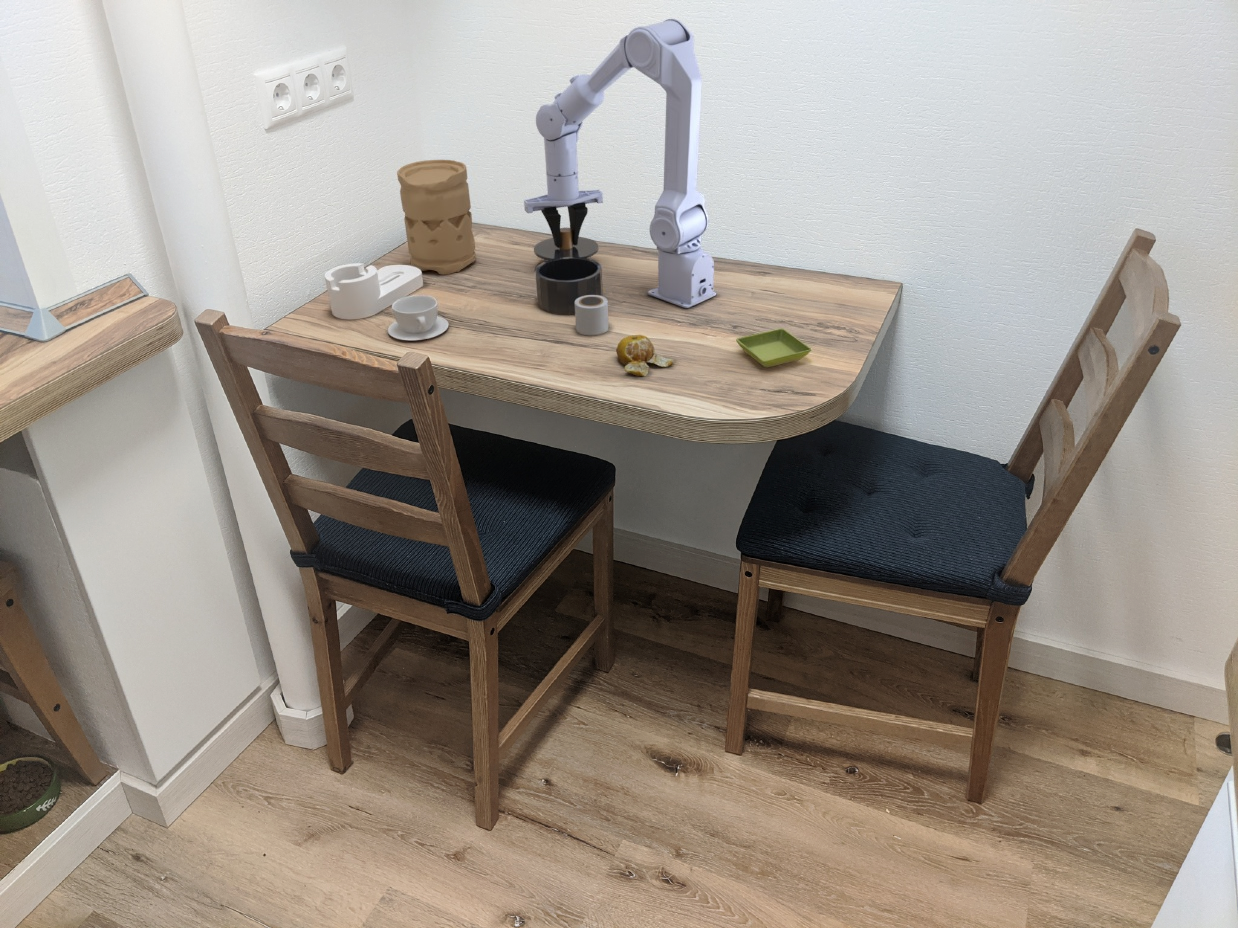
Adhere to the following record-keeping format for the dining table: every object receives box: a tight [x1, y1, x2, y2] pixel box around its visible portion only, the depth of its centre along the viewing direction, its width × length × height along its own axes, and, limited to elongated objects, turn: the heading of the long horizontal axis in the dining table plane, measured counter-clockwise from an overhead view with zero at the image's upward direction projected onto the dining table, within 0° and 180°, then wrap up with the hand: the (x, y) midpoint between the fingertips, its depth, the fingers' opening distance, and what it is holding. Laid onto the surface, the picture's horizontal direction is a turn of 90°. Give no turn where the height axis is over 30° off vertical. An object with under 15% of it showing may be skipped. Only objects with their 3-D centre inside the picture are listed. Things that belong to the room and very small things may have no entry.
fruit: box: [615, 334, 675, 377], centre depth 146 cm, size 8×8×4 cm
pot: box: [534, 257, 604, 316], centre depth 166 cm, size 11×11×6 cm
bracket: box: [324, 262, 424, 321], centre depth 170 cm, size 20×9×7 cm, turn 153°
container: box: [396, 159, 477, 275], centre depth 180 cm, size 13×13×18 cm
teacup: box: [387, 294, 449, 341], centre depth 158 cm, size 10×10×5 cm
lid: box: [533, 227, 600, 261], centre depth 179 cm, size 12×12×4 cm
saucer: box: [735, 328, 812, 369], centre depth 147 cm, size 9×9×2 cm
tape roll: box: [574, 295, 610, 336], centre depth 157 cm, size 5×5×5 cm
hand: (566, 244), depth 180 cm, fingers closed on lid, 2 cm apart
